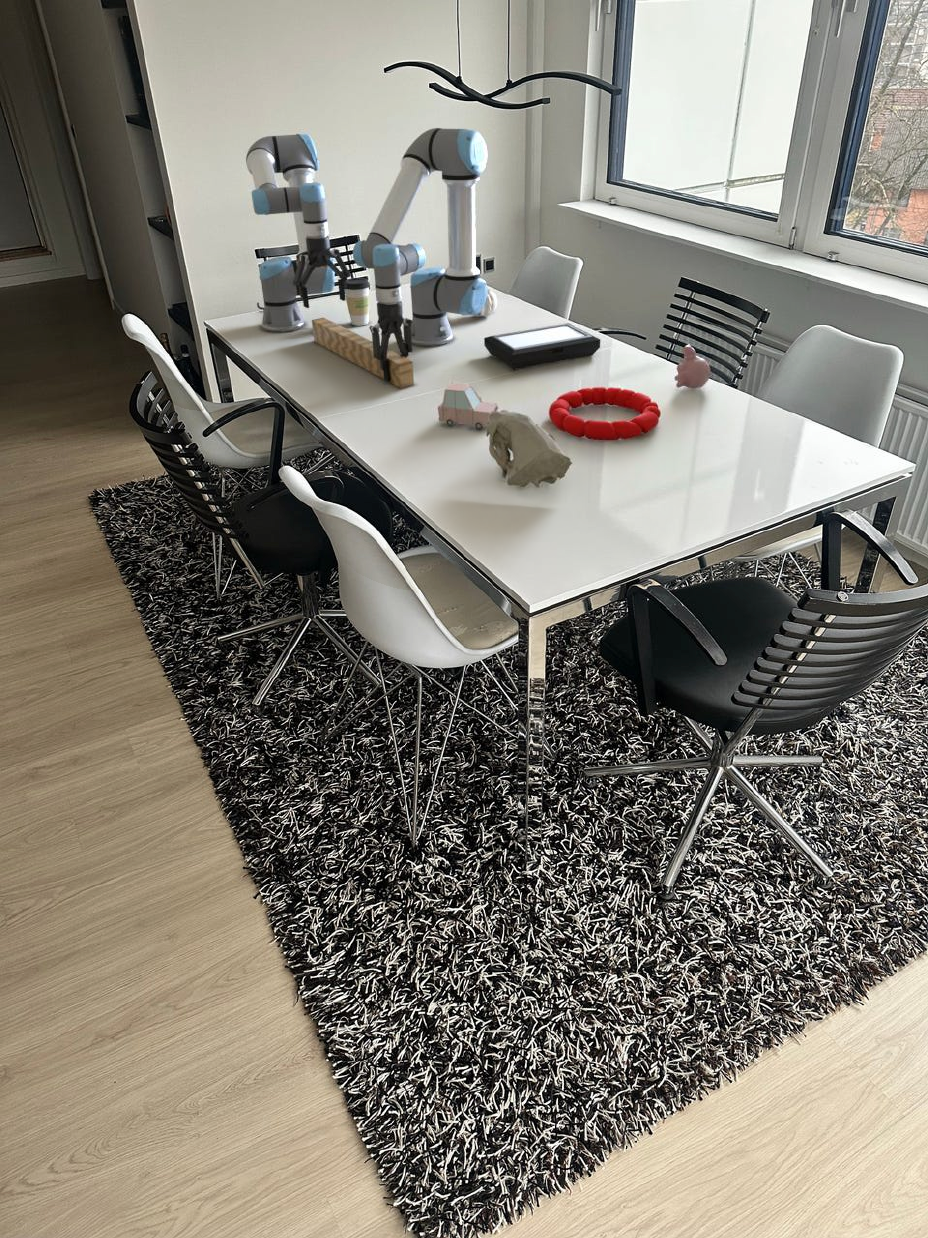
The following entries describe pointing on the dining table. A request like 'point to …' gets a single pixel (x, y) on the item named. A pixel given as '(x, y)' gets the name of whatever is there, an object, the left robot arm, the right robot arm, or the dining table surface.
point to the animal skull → (525, 450)
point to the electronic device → (542, 345)
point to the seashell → (488, 304)
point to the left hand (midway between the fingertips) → (324, 303)
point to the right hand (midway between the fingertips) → (394, 378)
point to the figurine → (692, 370)
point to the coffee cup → (358, 300)
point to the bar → (361, 351)
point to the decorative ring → (604, 428)
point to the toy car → (465, 406)
